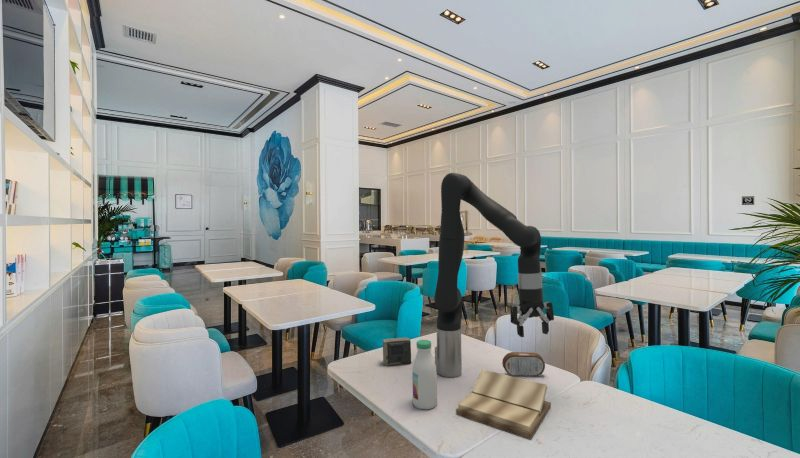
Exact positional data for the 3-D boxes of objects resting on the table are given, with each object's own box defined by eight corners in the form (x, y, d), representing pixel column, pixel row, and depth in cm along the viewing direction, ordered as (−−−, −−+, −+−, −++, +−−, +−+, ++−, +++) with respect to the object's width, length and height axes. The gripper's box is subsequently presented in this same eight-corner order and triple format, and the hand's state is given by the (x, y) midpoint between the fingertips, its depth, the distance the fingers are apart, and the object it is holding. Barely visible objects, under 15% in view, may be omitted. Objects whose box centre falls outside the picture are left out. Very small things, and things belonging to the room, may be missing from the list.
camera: (409, 359, 152) (409, 336, 152) (412, 365, 146) (411, 340, 146) (382, 361, 150) (382, 337, 150) (383, 367, 145) (383, 342, 145)
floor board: (456, 414, 109) (455, 404, 109) (483, 388, 125) (483, 379, 125) (530, 439, 96) (530, 428, 96) (550, 407, 112) (550, 397, 112)
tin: (543, 374, 135) (543, 351, 135) (546, 377, 132) (545, 354, 132) (502, 373, 137) (501, 351, 137) (503, 377, 134) (503, 354, 134)
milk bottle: (439, 399, 118) (438, 338, 117) (434, 412, 111) (432, 346, 110) (416, 396, 120) (415, 336, 120) (409, 408, 113) (408, 344, 113)
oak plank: (473, 394, 117) (472, 391, 117) (482, 371, 123) (481, 368, 122) (540, 413, 105) (539, 410, 104) (547, 387, 111) (546, 384, 110)
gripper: (543, 282, 125) (546, 329, 125) (504, 286, 123) (507, 334, 123) (556, 285, 118) (559, 335, 118) (515, 289, 115) (519, 340, 115)
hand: (533, 335), depth 120 cm, fingers open, 8 cm apart
